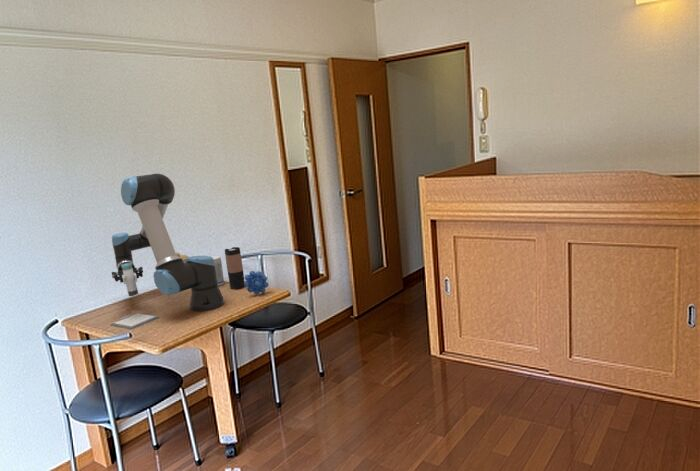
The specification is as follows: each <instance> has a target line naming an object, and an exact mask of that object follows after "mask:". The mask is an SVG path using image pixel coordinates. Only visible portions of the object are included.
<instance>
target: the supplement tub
mask: <svg viewBox="0 0 700 471" xmlns="http://www.w3.org/2000/svg"><path fill="white" fill-rule="evenodd" d="M209 256H210V257H212V258H213V260H214V263H215V271H216V277H217V284H218V287H221V286H223V285H224V284H225V279H224V271H223V270H224V269H223V265H222V264H223V262H222V258H221V256H220V255H209Z"/></svg>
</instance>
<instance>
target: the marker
mask: <svg viewBox="0 0 700 471" xmlns="http://www.w3.org/2000/svg"><path fill="white" fill-rule="evenodd" d="M121 267H122V270H123V274H124V277H125V282H126V284H125V285H126V286H125V287H126V290H127V293H128V296H129V297H132V296H136V295H138V294H139V291H138V290H139V289H138V287H137V282H136V281H135V278H134V273H133V269H132V264H131V263H125V264H122V265H121Z"/></svg>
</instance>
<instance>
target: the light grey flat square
mask: <svg viewBox="0 0 700 471" xmlns="http://www.w3.org/2000/svg"><path fill="white" fill-rule="evenodd" d="M159 318H160V316H159V315H154V314H147V313H141V312H137V313H135V314H128V315H126V316H123V317H121V318H119V320H117V321H115V322H112V323H110V326H112V327H117V328H123V329H128V330H133V329H135V328H137V327H140V326H143V325H144V324H147V323H149V322H152V321H154V320H157V319H159Z"/></svg>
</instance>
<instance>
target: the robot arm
mask: <svg viewBox="0 0 700 471" xmlns="http://www.w3.org/2000/svg"><path fill="white" fill-rule="evenodd" d="M120 187H121V188H120V195H121V199H122V202H123V203H124V205H126V206H130V207H131V210H132V211H134V212H136V213H137V214H138V217H139V219H140V224H142V227H141V230H140V232H139V233H135V234H131V235H129V233H127V232H120V233H115V234H113V235H112V236H111V243H112V247H113V248H112V249H113V253H114V257H115V258H114V259H115V265H116V269H117V271H112V272H111V277H112V278H113V279H114V281H115V282H120V283H121V284H122V283H123V285H126V282H125V277H124V274H123V270H122V267H121V265H122V264H125V263H131V264H132V269H133V273H134V278H135V282H136V283H137V282H138V279H140V278H143V276H144V275H143V273H144V268H143V266H139V267H135V264H134V260H133V259H134V258H133V254H132V252H134V251H139V250H141V249H145V248H151V251H152V252H153V255H154V258H155V261H156V265H155V268H154V269H155V271H154V272H153V276H152V277H153V282H154V284H155V287H156V288H157V289H158V291H159V292H161V293H162V294H163V295H166V296H170V295H174V294H178V293H181V292H183V291H186V290H189V289H191V294H190V295H191V296H190V301H189V308H190V310H191V311H194V312H203V311H209V310H213V309H217V308H219V307H221V306H223V305H224V304H225V299H224V298H225V297H224V296H223V294H222V292H221V290H220V288H219V286H218V284H217V277H216V271H215V263H214V260H213V258H212V257H210V256H211V255H194V256H193V255H191V256H189V257H188V258H187V260H186V261H187V262H185V263H183V260H182V258H180V257H178V256H177V255H176V253H177V252H176V249H175V248H174V245H173V243H172V239H171V237H170V235H169V232H168V230H167V227H166V224H165V222H164V216H165V215H166V211H167V209H168V206H169V205H170V204H171V203H172V202H173V201H174V198H175V192H176V190H175V186H174V183H173V181H172V180H171V179H170V177H168V176H167V175H164V174H162V173H152V174H144V175H143V174H142V175H137V176H135V175H134V176H130V177H126V178H125V179H124V180H122V183H121V186H120Z"/></svg>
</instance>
